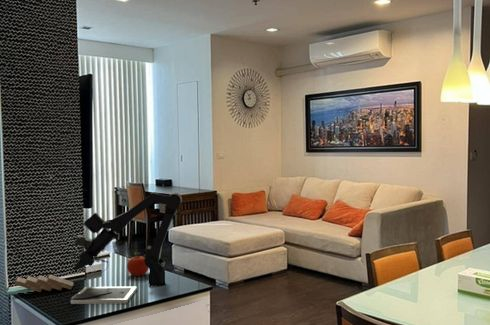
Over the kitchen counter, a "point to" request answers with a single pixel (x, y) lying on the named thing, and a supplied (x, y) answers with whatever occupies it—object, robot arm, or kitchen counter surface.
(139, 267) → the fruit
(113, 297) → the picture frame
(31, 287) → the domino
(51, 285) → the domino
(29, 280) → the domino
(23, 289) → the domino
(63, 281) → the domino
